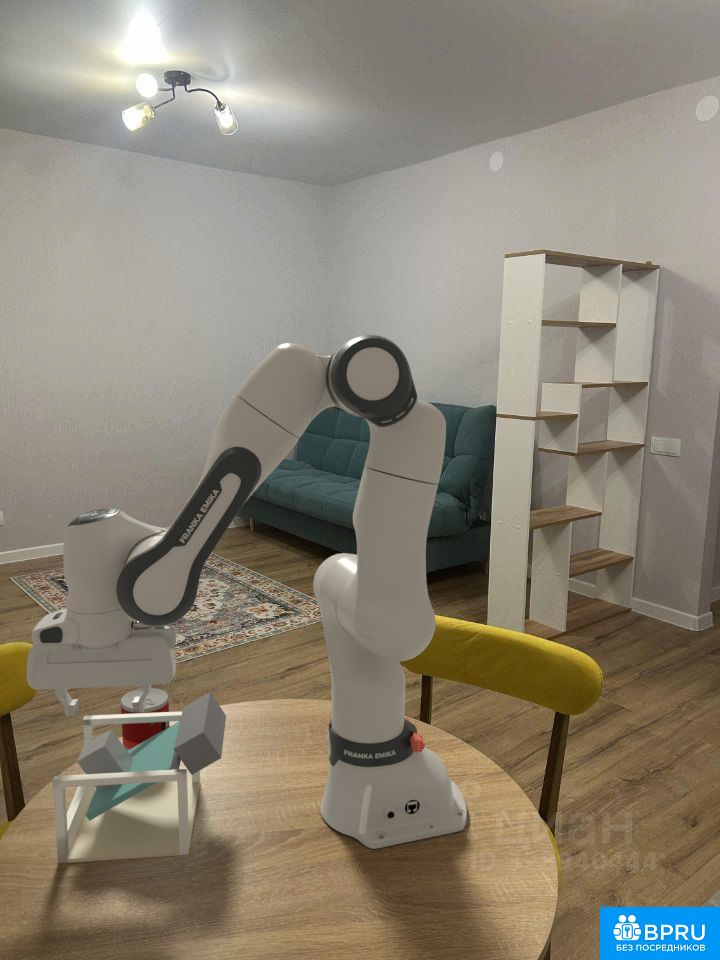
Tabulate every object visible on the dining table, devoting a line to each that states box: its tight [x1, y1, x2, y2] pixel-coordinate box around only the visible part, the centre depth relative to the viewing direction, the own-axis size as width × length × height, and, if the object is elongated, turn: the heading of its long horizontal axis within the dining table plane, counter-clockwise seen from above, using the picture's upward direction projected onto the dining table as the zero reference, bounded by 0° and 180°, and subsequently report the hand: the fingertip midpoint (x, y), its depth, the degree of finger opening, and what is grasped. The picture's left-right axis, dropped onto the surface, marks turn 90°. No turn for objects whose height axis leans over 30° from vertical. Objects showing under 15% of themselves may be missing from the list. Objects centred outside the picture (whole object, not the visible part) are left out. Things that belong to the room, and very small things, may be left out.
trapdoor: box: [86, 691, 227, 821], centre depth 109 cm, size 20×14×5 cm
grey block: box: [76, 728, 133, 793], centre depth 108 cm, size 5×5×6 cm
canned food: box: [120, 687, 170, 751], centre depth 126 cm, size 8×8×11 cm
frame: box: [51, 710, 201, 864], centre depth 109 cm, size 18×18×12 cm
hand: (105, 712), depth 107 cm, fingers open, 8 cm apart
